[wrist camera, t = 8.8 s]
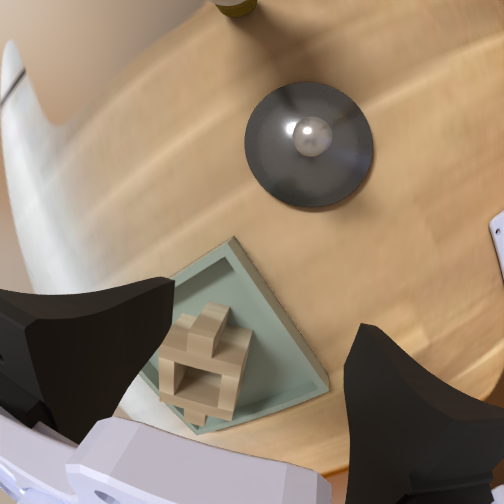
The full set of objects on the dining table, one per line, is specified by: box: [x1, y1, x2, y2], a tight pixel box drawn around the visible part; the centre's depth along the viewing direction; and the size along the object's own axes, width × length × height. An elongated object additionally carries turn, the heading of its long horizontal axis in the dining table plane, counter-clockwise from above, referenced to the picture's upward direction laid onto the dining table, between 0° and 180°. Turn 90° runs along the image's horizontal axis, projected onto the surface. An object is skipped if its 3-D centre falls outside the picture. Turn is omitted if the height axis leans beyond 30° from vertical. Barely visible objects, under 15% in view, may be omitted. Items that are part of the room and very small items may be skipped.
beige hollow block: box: [159, 301, 253, 427], centre depth 21 cm, size 8×5×4 cm, turn 171°
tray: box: [138, 236, 329, 435], centre depth 23 cm, size 13×13×2 cm
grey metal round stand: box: [245, 82, 373, 207], centre depth 16 cm, size 8×8×6 cm
